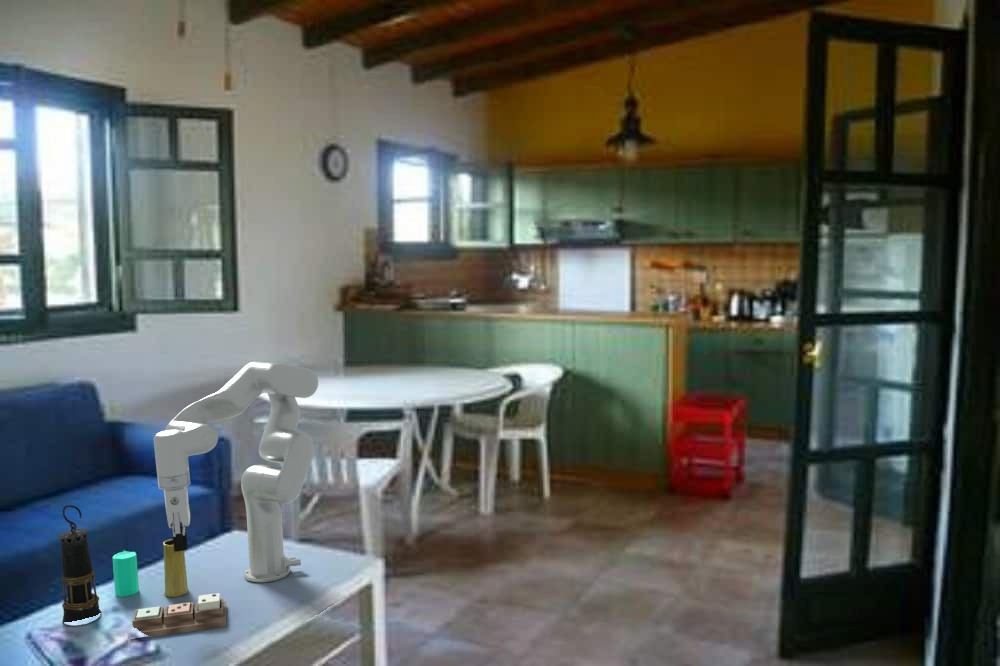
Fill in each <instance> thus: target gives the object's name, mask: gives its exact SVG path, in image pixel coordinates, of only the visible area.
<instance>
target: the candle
mask: <svg viewBox="0 0 1000 666" xmlns="http://www.w3.org/2000/svg"><path fill="white" fill-rule="evenodd" d="M111 559H112V569H113V571H112V572H113V583H114V594H115V596H116V597H128V596H129V595H130V596H133V595H135V594H137V593H138V592H139V591H140V589H139V586H140V585H139V584H140V583H139V574H138V573H139V571H138V558H137V553H136V551H127V550H123V551H121V552H118V553H116V554H114V555H113V556H112V558H111Z"/></svg>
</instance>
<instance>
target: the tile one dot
mask: <svg viewBox="0 0 1000 666" xmlns="http://www.w3.org/2000/svg"><path fill="white" fill-rule="evenodd" d="M160 607H161V606H160V605H159V606H154V607H145V608H138V609H137V610H138V612H137V616H136V620H138V619H145V618H152V617H159V616H160Z"/></svg>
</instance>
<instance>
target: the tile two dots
mask: <svg viewBox="0 0 1000 666" xmlns="http://www.w3.org/2000/svg"><path fill="white" fill-rule="evenodd" d="M220 599H221V595H220V592H217V593H215V592H214V593H207V594H200V595H198V601H197V602H198V610H199V611H205V610H212V609H219V608H220Z"/></svg>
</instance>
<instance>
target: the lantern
mask: <svg viewBox="0 0 1000 666" xmlns="http://www.w3.org/2000/svg"><path fill="white" fill-rule="evenodd" d="M67 508H72V509H75V510H77V513H78V514H79V519H80V520H81V519H82V518H83V516H82V515H83V514H82V512H81V510H80V508H79V507H77V506H76V505H70V504H67V505H64V506H63V509H62V517H63V519H64V520H65V521H66V522H67V523H69V526H70V530H68V531H66V532H62V533H60V534H58V536H57V538H58V539H60V547H61V564H62V565H61V566H62V576H61V584H62V590H63V592H62V593H63V603H62V606H61V607H62V609H63V616H62V623H63V622H72V621H77V620H82V619H85V618H89V617H93V616H96V615H98V614H99V613H102V611H101V609H100V604H99V602H100V601H99V600H100V597H99V596H98V595H97V588H96V582H95V578H96V577H95V576H96V575H95V571H94V569H93V568H94V567H93V564H92V558H91V554H90V549H89V548H90V546H89V541H88V536H87V535H88V534H89V531H90V530H89V529H83V528H81V529H77V528H78V527H77V524H76V523H75V522H73V521H71V520H69V519H68V518H67V517H66V513H65V511H66V509H67ZM92 585H93V587H92ZM92 588H93V592H92ZM66 590H67V596H66ZM66 597H67V598H66Z"/></svg>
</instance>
